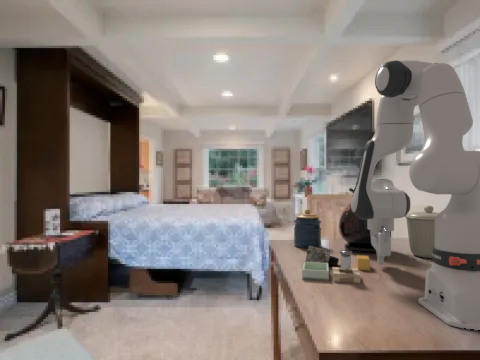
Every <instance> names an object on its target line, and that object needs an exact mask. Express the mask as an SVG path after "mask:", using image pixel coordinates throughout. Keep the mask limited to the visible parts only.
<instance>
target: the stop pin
mask: <svg viewBox="0 0 480 360" xmlns="http://www.w3.org/2000/svg"><path fill="white" fill-rule="evenodd" d="M339 254H340V268H341V272H343V273H351V268H352V255H353V251H349V250H347V249H342V250H339Z"/></svg>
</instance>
